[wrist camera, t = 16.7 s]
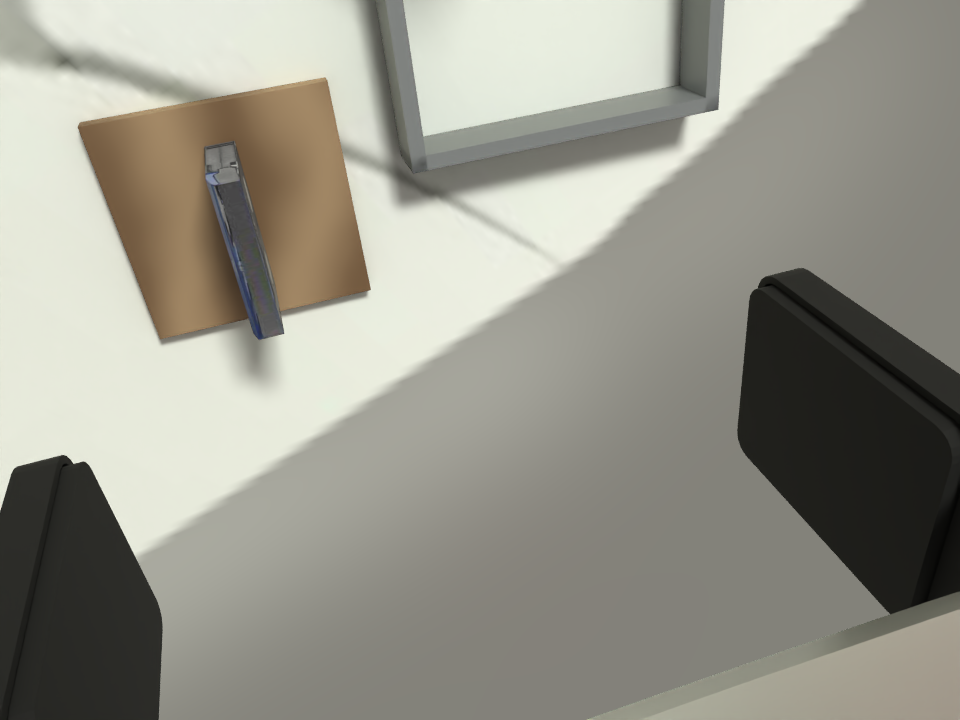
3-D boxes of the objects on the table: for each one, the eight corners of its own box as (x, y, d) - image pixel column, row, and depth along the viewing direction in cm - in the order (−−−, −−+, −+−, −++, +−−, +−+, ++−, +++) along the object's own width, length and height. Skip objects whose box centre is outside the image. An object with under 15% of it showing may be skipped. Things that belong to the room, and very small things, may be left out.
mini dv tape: (204, 145, 40) (205, 186, 36) (234, 139, 41) (239, 179, 36) (247, 289, 45) (254, 342, 40) (274, 282, 45) (284, 334, 40)
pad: (160, 332, 46) (160, 339, 45) (79, 122, 39) (77, 127, 38) (368, 283, 48) (370, 289, 47) (325, 77, 41) (327, 81, 41)
